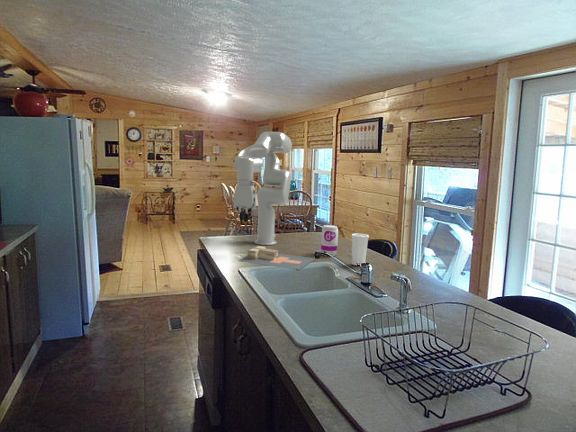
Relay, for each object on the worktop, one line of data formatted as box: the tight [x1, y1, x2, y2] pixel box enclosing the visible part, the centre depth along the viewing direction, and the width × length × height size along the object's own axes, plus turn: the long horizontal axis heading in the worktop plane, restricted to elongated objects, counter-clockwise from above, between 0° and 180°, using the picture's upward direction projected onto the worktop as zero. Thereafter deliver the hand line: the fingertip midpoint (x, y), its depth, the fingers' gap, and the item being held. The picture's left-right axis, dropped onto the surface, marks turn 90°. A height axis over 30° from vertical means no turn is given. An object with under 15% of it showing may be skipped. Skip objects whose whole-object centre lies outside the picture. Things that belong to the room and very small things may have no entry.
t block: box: [247, 245, 279, 260], centre depth 208 cm, size 12×12×4 cm
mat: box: [238, 253, 317, 271], centre depth 206 cm, size 24×30×1 cm
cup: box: [351, 233, 370, 266], centre depth 203 cm, size 8×8×14 cm
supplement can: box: [320, 224, 339, 257], centre depth 221 cm, size 8×8×15 cm
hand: (244, 221), depth 210 cm, fingers closed
